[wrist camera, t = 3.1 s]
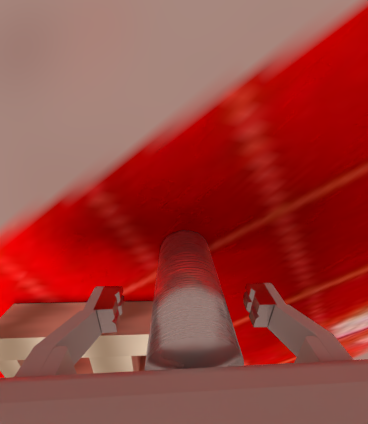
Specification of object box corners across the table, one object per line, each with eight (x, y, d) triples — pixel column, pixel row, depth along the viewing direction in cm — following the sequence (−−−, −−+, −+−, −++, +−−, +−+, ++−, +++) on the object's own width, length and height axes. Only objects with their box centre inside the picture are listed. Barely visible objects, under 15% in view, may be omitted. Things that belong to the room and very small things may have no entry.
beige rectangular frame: (214, 300, 17) (222, 334, 14) (204, 367, 21) (209, 404, 18) (13, 303, 16) (-23, 342, 13) (47, 373, 20) (25, 414, 17)
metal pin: (211, 230, 14) (252, 336, 6) (206, 270, 15) (236, 393, 8) (159, 230, 14) (141, 339, 6) (160, 271, 15) (147, 397, 8)
